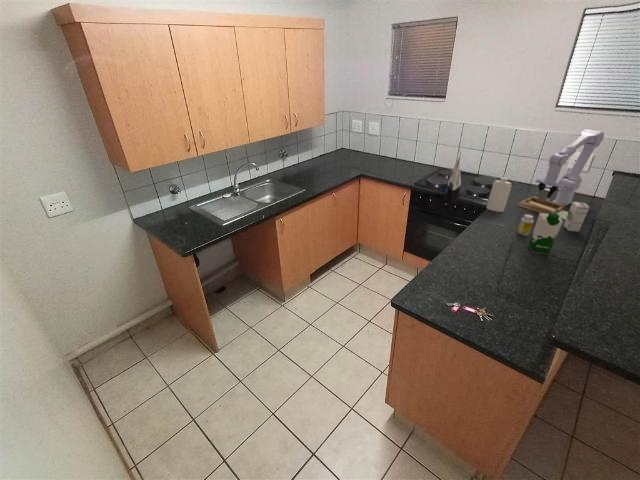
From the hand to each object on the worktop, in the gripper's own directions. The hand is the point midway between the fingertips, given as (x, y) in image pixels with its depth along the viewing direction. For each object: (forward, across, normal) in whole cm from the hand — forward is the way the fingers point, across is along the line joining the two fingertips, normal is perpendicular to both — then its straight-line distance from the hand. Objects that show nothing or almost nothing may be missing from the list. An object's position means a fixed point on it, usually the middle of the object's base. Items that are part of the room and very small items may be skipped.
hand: (544, 196), depth 191 cm
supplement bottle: (+8, +10, -41) cm, 43 cm away
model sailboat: (+8, -42, -31) cm, 52 cm away
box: (+2, 0, 0) cm, 2 cm away
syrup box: (+8, +22, -15) cm, 28 cm away
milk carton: (+8, +24, -52) cm, 57 cm away
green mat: (+7, +13, 0) cm, 15 cm away
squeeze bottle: (+8, -14, -25) cm, 30 cm away
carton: (+7, 0, 0) cm, 7 cm away
